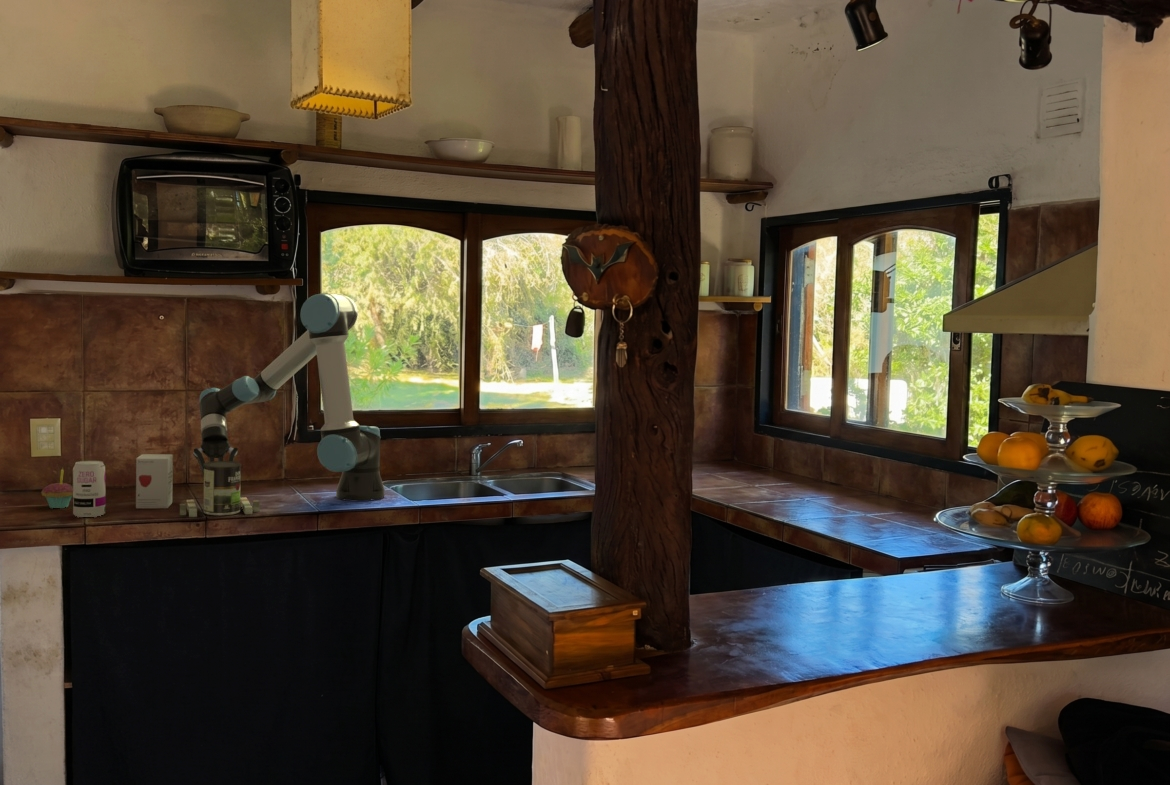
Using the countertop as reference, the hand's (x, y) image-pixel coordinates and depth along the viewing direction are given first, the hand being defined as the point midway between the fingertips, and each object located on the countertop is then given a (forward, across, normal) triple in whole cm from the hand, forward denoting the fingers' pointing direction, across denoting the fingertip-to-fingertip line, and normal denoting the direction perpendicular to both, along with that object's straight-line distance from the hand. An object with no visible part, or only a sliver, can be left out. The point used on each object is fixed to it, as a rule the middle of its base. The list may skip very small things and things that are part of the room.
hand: (218, 495), depth 301 cm
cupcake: (-7, +43, -13) cm, 45 cm away
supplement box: (-4, +17, -10) cm, 20 cm away
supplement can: (+3, +34, -3) cm, 35 cm away
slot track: (+4, 0, -1) cm, 4 cm away
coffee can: (+7, 0, +1) cm, 7 cm away
